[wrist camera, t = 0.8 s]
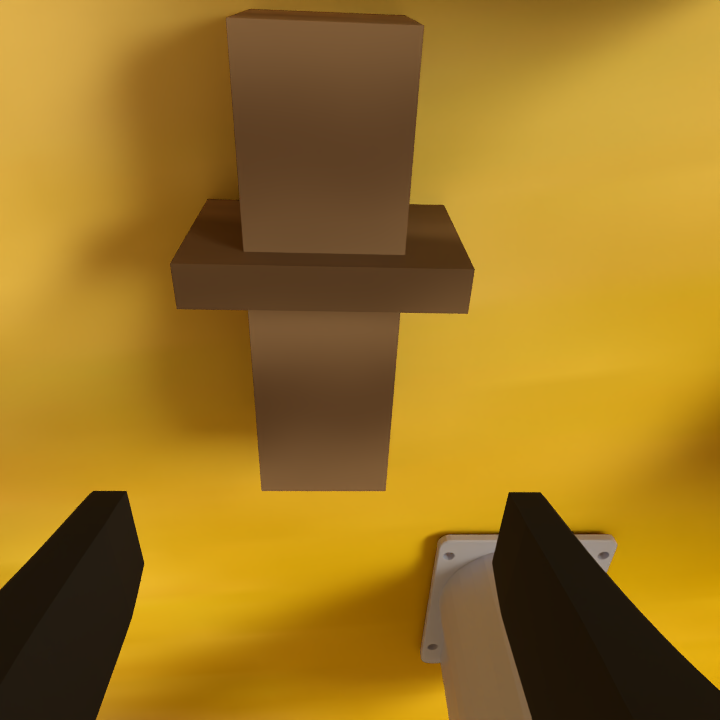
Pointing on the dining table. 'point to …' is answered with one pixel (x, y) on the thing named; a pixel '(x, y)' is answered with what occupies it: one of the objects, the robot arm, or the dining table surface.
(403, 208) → the brown collared bar
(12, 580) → the robot arm
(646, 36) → the dining table surface
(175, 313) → the dining table surface
